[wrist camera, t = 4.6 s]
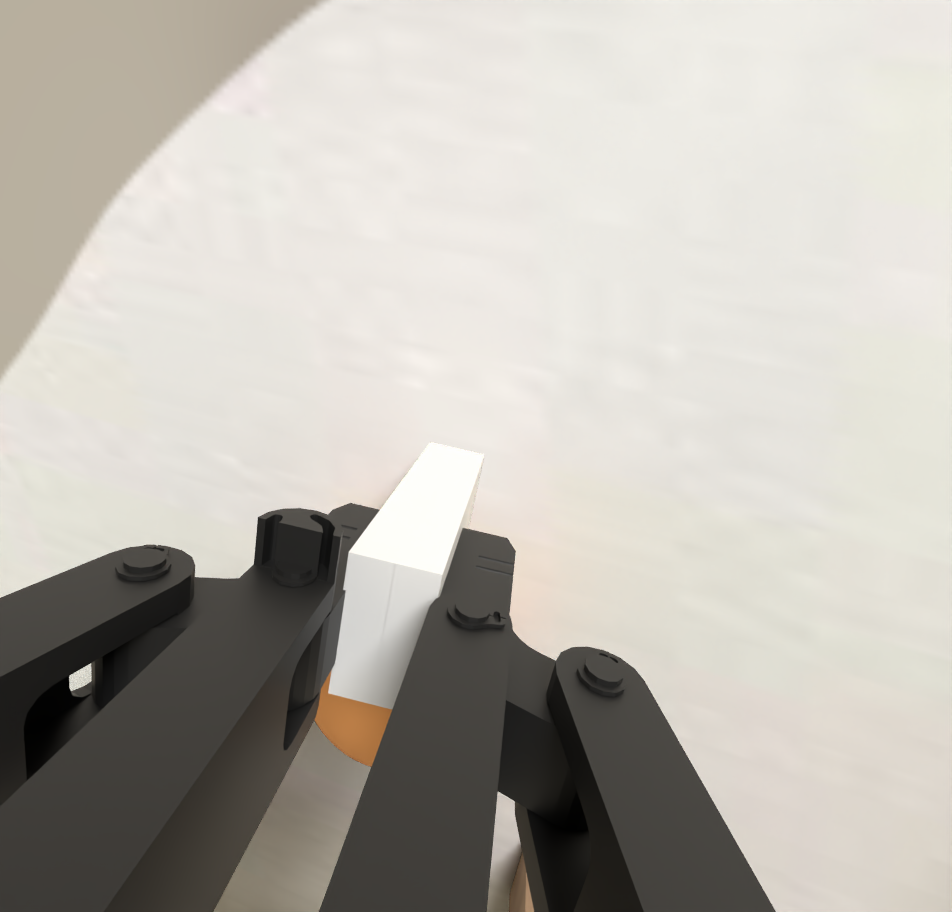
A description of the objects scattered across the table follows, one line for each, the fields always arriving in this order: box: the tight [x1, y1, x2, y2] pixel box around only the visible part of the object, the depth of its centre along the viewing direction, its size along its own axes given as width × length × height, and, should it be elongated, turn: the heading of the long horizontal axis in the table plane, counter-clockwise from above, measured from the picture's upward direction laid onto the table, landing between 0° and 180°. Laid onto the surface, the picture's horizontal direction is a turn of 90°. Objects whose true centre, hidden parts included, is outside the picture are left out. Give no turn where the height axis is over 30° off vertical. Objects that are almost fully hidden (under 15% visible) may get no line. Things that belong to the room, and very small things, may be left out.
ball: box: [314, 672, 392, 767], centre depth 15 cm, size 6×6×6 cm
